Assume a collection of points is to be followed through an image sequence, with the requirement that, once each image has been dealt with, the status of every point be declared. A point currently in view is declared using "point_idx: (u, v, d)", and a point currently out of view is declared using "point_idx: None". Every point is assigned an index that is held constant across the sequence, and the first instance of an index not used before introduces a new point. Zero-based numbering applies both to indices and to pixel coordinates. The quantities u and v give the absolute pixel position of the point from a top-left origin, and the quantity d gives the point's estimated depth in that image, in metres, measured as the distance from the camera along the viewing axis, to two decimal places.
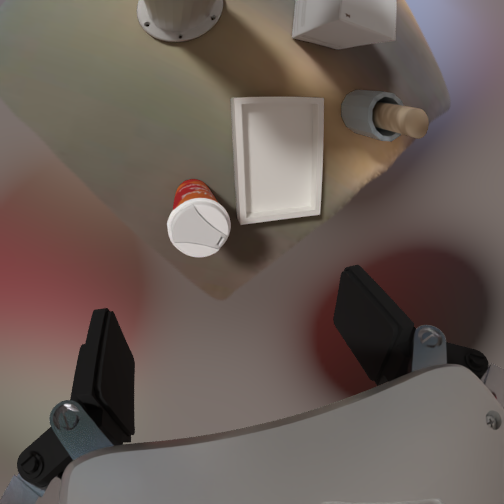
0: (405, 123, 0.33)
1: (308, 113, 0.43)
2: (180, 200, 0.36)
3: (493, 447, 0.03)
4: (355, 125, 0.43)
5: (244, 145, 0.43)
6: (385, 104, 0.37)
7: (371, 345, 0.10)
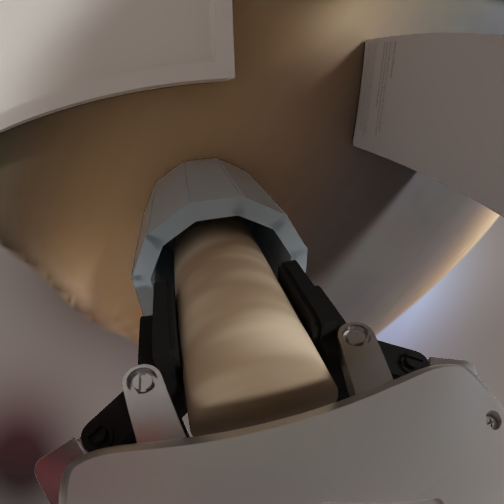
0: (252, 370, 0.07)
1: (180, 56, 0.14)
2: None
3: (493, 447, 0.03)
4: (163, 191, 0.15)
5: None
6: (267, 263, 0.13)
7: None
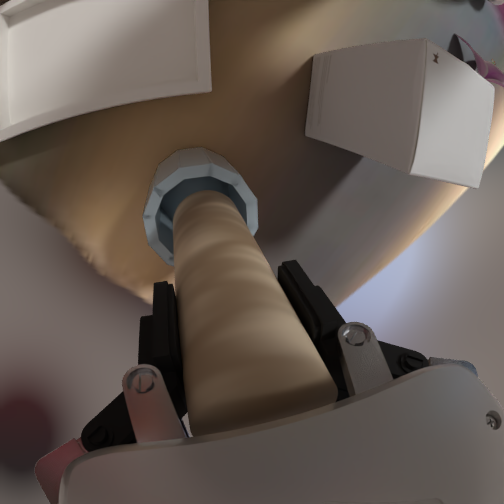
0: (251, 370, 0.07)
1: (175, 76, 0.21)
2: None
3: (493, 447, 0.03)
4: (164, 167, 0.22)
5: None
6: (267, 263, 0.13)
7: None
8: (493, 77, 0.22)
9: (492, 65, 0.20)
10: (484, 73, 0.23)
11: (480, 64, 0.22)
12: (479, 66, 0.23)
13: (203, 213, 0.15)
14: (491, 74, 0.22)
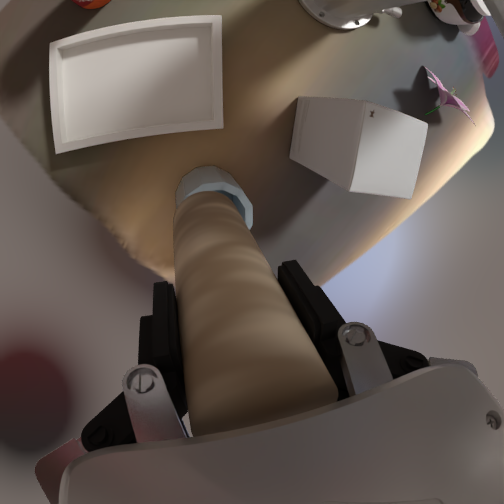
0: (252, 371, 0.07)
1: (197, 114, 0.31)
2: None
3: (493, 447, 0.03)
4: (189, 180, 0.32)
5: (153, 35, 0.25)
6: (268, 264, 0.13)
7: None
8: (452, 103, 0.33)
9: (449, 94, 0.31)
10: (444, 100, 0.34)
11: (441, 92, 0.33)
12: (440, 94, 0.34)
13: (203, 214, 0.15)
14: (450, 100, 0.33)
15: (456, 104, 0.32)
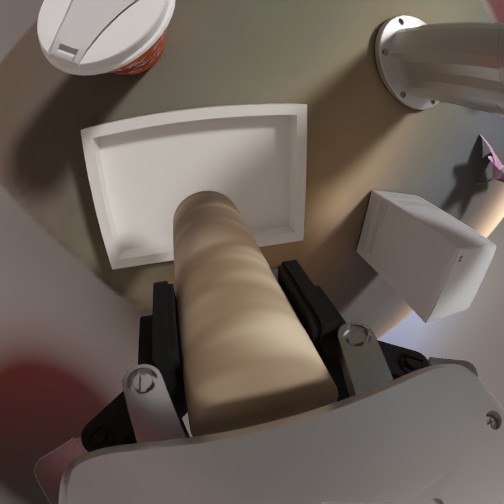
0: (252, 371, 0.07)
1: (273, 221, 0.31)
2: None
3: (493, 447, 0.03)
4: None
5: (220, 123, 0.25)
6: (267, 264, 0.13)
7: None
8: None
9: None
10: (497, 176, 0.32)
11: (496, 169, 0.32)
12: (494, 169, 0.32)
13: (203, 214, 0.15)
14: (503, 178, 0.31)
15: None
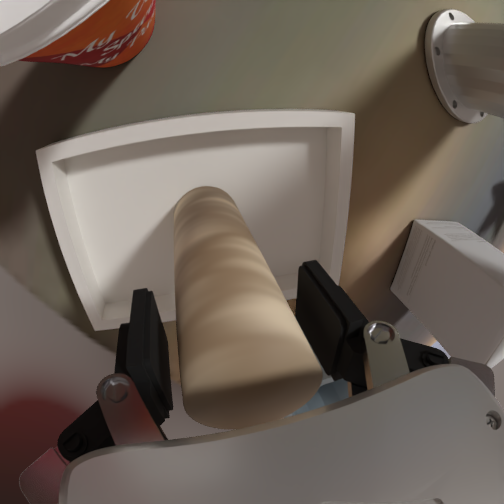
0: (239, 346, 0.07)
1: (300, 264, 0.24)
2: None
3: (493, 447, 0.03)
4: None
5: (234, 135, 0.18)
6: (261, 254, 0.14)
7: (325, 340, 0.10)
8: None
9: None
10: None
11: None
12: None
13: (202, 207, 0.16)
14: None
15: None
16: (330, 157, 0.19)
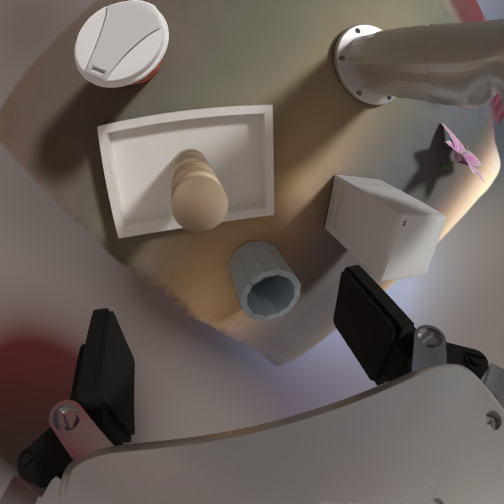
0: (193, 178, 0.21)
1: (249, 199, 0.38)
2: None
3: (493, 447, 0.03)
4: (244, 260, 0.39)
5: (205, 121, 0.32)
6: None
7: (371, 345, 0.10)
8: (465, 162, 0.39)
9: (464, 157, 0.37)
10: (458, 159, 0.39)
11: (456, 153, 0.39)
12: (455, 153, 0.39)
13: (186, 155, 0.30)
14: (463, 160, 0.39)
15: (469, 164, 0.38)
16: (261, 131, 0.33)
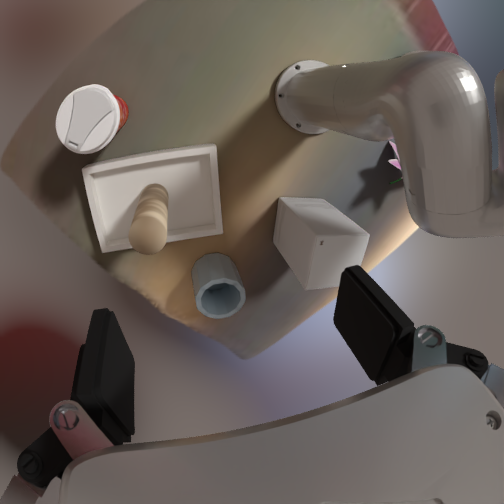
0: (141, 218, 0.30)
1: (203, 221, 0.47)
2: (114, 97, 0.27)
3: (493, 447, 0.03)
4: (201, 269, 0.48)
5: (164, 161, 0.41)
6: (164, 205, 0.37)
7: (371, 345, 0.10)
8: None
9: None
10: None
11: None
12: None
13: (148, 191, 0.39)
14: None
15: None
16: (209, 167, 0.42)
